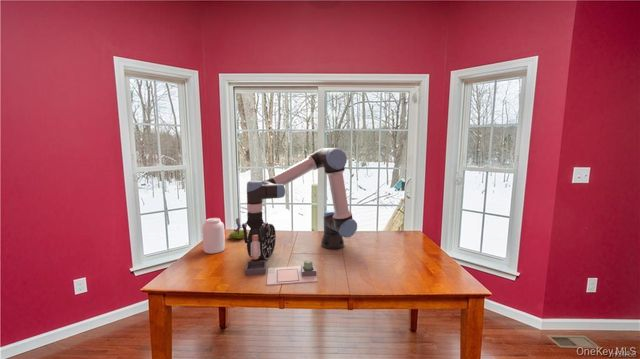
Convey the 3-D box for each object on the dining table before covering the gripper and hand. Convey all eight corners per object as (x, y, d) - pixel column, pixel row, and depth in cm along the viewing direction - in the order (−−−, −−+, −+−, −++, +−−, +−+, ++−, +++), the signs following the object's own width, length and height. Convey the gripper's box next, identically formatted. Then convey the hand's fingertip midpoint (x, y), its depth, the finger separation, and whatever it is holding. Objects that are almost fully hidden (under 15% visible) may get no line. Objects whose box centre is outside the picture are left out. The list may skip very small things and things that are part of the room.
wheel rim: (262, 265, 147) (262, 229, 144) (247, 263, 148) (246, 228, 146) (275, 251, 166) (275, 219, 164) (262, 250, 168) (261, 219, 165)
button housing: (314, 269, 141) (314, 264, 140) (315, 275, 134) (315, 270, 134) (300, 270, 140) (300, 265, 139) (302, 276, 133) (302, 271, 132)
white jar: (207, 255, 159) (206, 223, 156) (200, 249, 168) (199, 218, 166) (228, 250, 167) (227, 219, 164) (220, 245, 176) (219, 215, 174)
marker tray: (266, 265, 146) (266, 260, 146) (265, 274, 136) (265, 268, 136) (247, 266, 145) (247, 261, 144) (245, 275, 135) (245, 269, 135)
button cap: (311, 267, 139) (311, 260, 139) (313, 271, 135) (313, 263, 134) (303, 268, 138) (303, 260, 138) (304, 272, 134) (304, 264, 134)
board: (312, 266, 146) (312, 264, 146) (317, 281, 129) (317, 280, 129) (268, 269, 142) (268, 267, 142) (266, 285, 125) (266, 284, 125)
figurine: (231, 235, 196) (230, 215, 194) (249, 234, 197) (248, 214, 195) (226, 241, 182) (226, 220, 180) (246, 241, 183) (245, 219, 181)
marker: (259, 256, 142) (258, 234, 140) (258, 259, 138) (258, 236, 137) (252, 256, 141) (252, 234, 140) (252, 259, 138) (251, 237, 136)
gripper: (271, 209, 142) (271, 251, 144) (239, 209, 139) (240, 253, 142) (270, 212, 134) (271, 257, 137) (237, 213, 132) (238, 259, 135)
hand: (255, 255), depth 139 cm, fingers closed on marker, 3 cm apart
